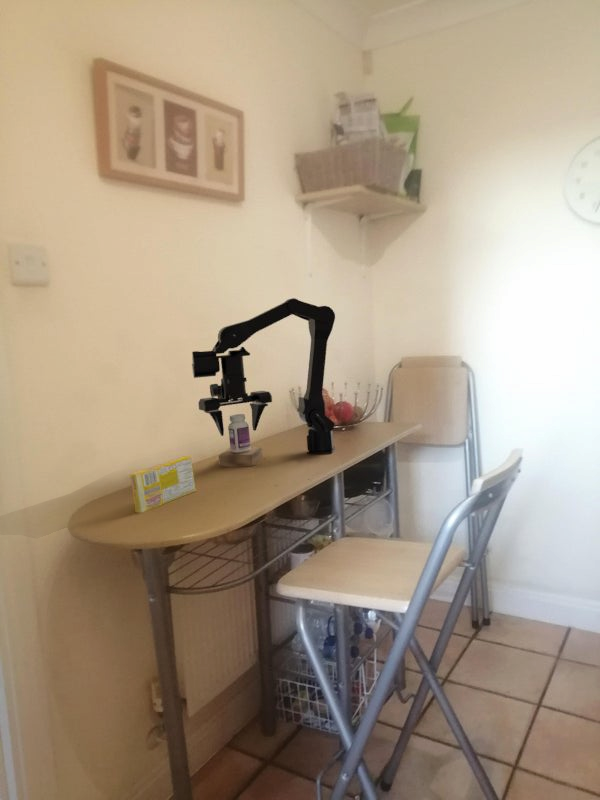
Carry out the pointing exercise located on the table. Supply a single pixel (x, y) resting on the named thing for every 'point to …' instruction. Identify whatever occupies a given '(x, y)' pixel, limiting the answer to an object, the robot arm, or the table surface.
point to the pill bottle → (239, 434)
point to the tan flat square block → (240, 457)
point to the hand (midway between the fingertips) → (238, 432)
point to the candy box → (162, 483)
